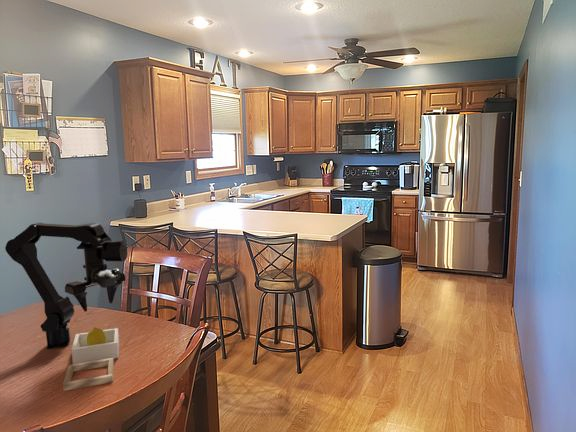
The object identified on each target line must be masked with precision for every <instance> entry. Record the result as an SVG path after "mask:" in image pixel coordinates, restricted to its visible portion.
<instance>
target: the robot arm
mask: <svg viewBox="0 0 576 432" xmlns="http://www.w3.org/2000/svg"><path fill="white" fill-rule="evenodd" d="M41 237H52V238H65V239H66V238H70V239H73V240H75V241H77V242H80V244H78V246H77V247H76V249H77V250H83V256H84V264H82V267H83V269H85V276H84V278H83V279H84V282H81V281H77V280H76V281H70V282H68V283H65V286H64V292H65V293H66V294H69V295H73V296H74V298H75V299H76V300H77V302H78V303H79V305H80V307H81V308H82V310H83V312H85V313H86V312H87V311H88V305H87V297H86V296H87V295H88V292H87V289H88V288H91V287H94V286H98V285H99V286H100V287H101V288H104V289H106V291H107V292H106V293H107V299H108V303H109V304H113V303H114V299H115V295H116V291H117V289H118V288H119V286H120V285H122V284H123V282H126V281H127V280H126V274H125V273H124V272H123V271H122V272H121V271H120V269H119V268H118V267H117V268H114V269H108V265H107V263H105V262H125V261H126V260H127V259H128V248H127V245H126V243H125V244H124V240H119V239H118V240H112V239H111V237H110V236H109V235H108V234H107V233H106V231H105V230H104V227H103V225H102V224H100V222H99V223H98V222H89V223H81V224H75V225H74V224H73V225H72V224H61V223H60V224H58V223H57V224H56V223H44V222H35V223H32V224H30V225H28V226H27V227H26V229H25V230H23V231H22V232H20V233H19V234H17V235H16V236H14V238H11V239H10V240H8V241H7V242H6V244H5V247H4V248H5V252H6V253H7V255H8V256H9V257H10V258H11V260H13V262H16V263H17V264H19V265H20V266H22V269H23V270H24V271H25V273H26V275H27V276H28V278H29V280H30V281H31V283H32V284H33V286H34V288H35V289H36V291H37V293H38V294H39V296H40V298H41V300H42V301H43V303H44V314H45V316H46V319H45V320H44V321H43V322H42V324H41V325H40V329H41V330H42V332H43V333H44V332H45V336H46V347H45V348H46V350H47V349H48V350H49V349H54V348H55V349H56V348H62V347H67V346H69V343H70V342H71V329H70V327H68V323H70V322H71V319H72V318H73V317H74V314H75V308H74V307H75V305H74V304H73V303H72V302H71V299H70V297H69V296H65V297H63V296H61V295H60V294H59V292H58V290H57V289H56V288H55V286H54V284H53V282H52V280H51V279H50V277H49V276H48V274H47V273H46V271H45V269H44V267H43V266H42V264H41V262H40V261H39V259H38V249H37V246H36V244H37V243H38V242H39V241H40V240H41Z"/></svg>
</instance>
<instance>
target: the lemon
mask: <svg viewBox="0 0 576 432" xmlns="http://www.w3.org/2000/svg"><path fill="white" fill-rule="evenodd" d="M103 330H104V329H101V328H98V327H96V326H95V327H93V328H92V329H90V330H89V331H88V332H89V333H88V335H87V345H88V346H91V345H98V344H104V343H105V340H106V338H105V334H104V332H103Z"/></svg>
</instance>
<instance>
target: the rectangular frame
mask: <svg viewBox="0 0 576 432" xmlns="http://www.w3.org/2000/svg"><path fill="white" fill-rule="evenodd" d="M114 360H115V359H113V358H107V359H101V360H95V361H89V362H83V363H77V364H73V363H72V364H68V366H67V370H66V373H65V376H64V380H63V384H62V386H63V389H62V390H63V392H65V391H71V390H76V389H80V388H86V387H91V386H97V385H104V384H109V383H113V381H114V380H113V379H114V365H115V364H114V363H115V361H114ZM104 367H107V374H105V375H99V376H94V377H89V378H82V379H77V380H72V378H73V373H74V372H79V371H86V370H90V369H96V368H97V369H99V368H104Z"/></svg>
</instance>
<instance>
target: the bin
mask: <svg viewBox="0 0 576 432" xmlns="http://www.w3.org/2000/svg"><path fill="white" fill-rule="evenodd" d="M102 330H103V332H104V334H105V338H106V340H105V343H104V344H98V345H91V346H88V345H87V335H88V333H89V331H88V332H82V333H76V334H75V336H74V340H73V342H72V343H73V344H72V347H71V360H72V364H77V363H83V362H89V361H95V360H101V359H107V358H113V359H114V360H115V359H119V355H120V354H119V353H120V336H119V327H115V328H109V329H108V328H107V329H102Z"/></svg>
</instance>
